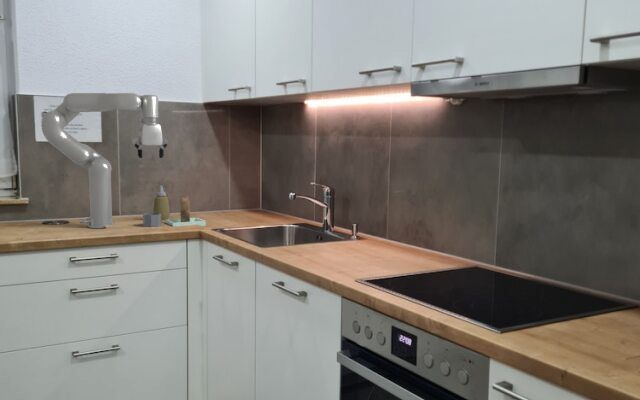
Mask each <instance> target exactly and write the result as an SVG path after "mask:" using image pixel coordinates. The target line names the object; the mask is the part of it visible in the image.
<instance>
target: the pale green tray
mask: <svg viewBox="0 0 640 400" xmlns="http://www.w3.org/2000/svg"><path fill="white" fill-rule="evenodd" d="M164 221H165V224H167V225H169V226H172V227H182V226H197V225H198V226H200V227H206V225H207V224H206V223H207V222H206V220H204V219H201V218H199V217H190V222H181V218H170V219H169V218H168V219H167V220H164Z"/></svg>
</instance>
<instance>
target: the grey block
mask: <svg viewBox="0 0 640 400" xmlns="http://www.w3.org/2000/svg"><path fill="white" fill-rule="evenodd" d="M142 227H143V228H144V227H145V228H158V227H162V220H161V214H160V213H153V212H146V213H143V214H142Z"/></svg>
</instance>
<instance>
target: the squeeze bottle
mask: <svg viewBox="0 0 640 400" xmlns="http://www.w3.org/2000/svg"><path fill="white" fill-rule="evenodd" d="M152 213H160V214H161V221H165V220H167V219H169V218H170V214H171V212H170V204H169V197H167V192H165V190H164V187H163V185H159V188H158V192H157V191H156V196H155V197H154V201H153V212H152Z"/></svg>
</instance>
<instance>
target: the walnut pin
mask: <svg viewBox="0 0 640 400" xmlns="http://www.w3.org/2000/svg"><path fill="white" fill-rule="evenodd" d="M190 197H191V196H189V195H182V196H180V205H179V207H180V219H181V222H190V218H191V201H190V200H191V199H190Z"/></svg>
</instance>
